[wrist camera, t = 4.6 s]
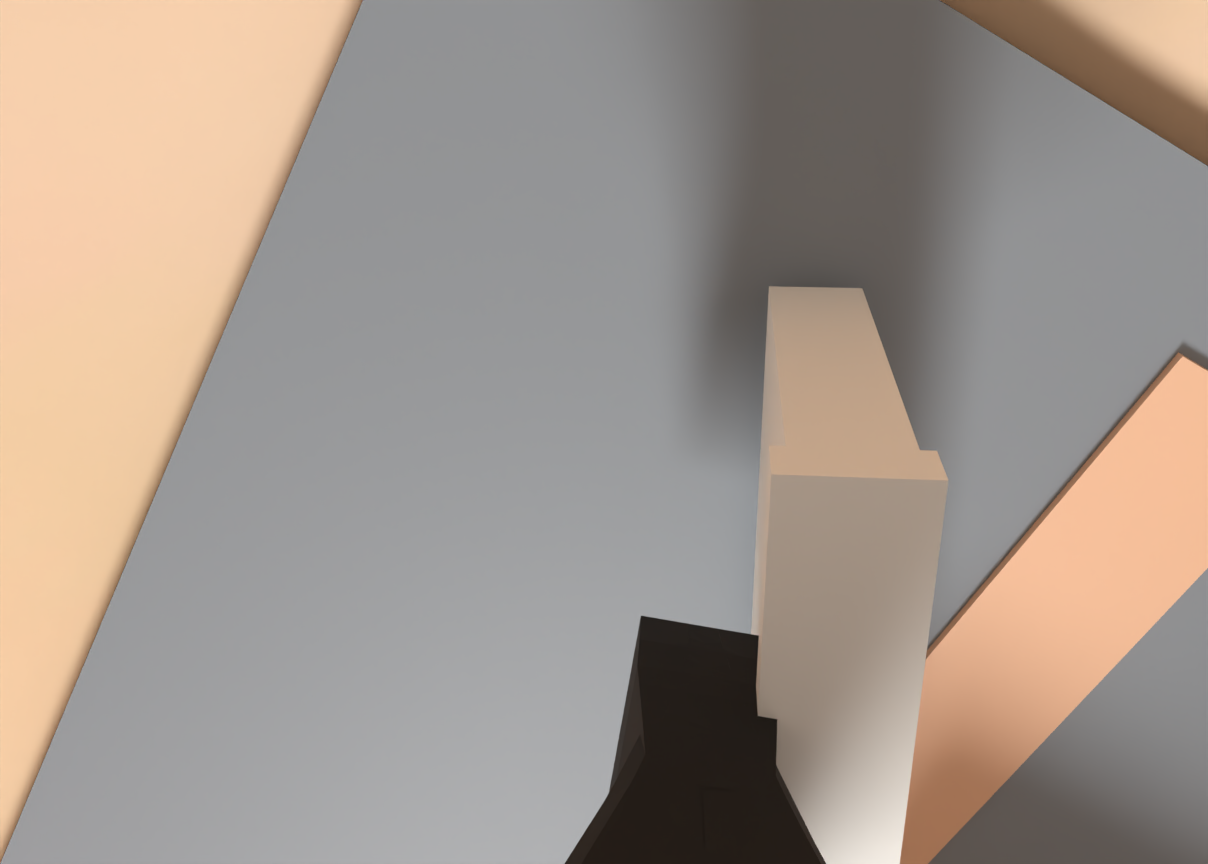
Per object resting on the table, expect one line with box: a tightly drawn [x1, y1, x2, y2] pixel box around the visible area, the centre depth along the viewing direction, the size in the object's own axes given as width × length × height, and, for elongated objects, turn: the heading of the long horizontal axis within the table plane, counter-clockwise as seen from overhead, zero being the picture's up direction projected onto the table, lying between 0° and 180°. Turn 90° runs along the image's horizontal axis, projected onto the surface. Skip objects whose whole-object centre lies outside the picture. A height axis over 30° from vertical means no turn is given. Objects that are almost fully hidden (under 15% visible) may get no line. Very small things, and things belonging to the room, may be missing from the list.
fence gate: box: [751, 286, 948, 864], centre depth 10 cm, size 7×1×4 cm, turn 1°
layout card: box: [0, 0, 1208, 864], centre depth 13 cm, size 15×15×1 cm
